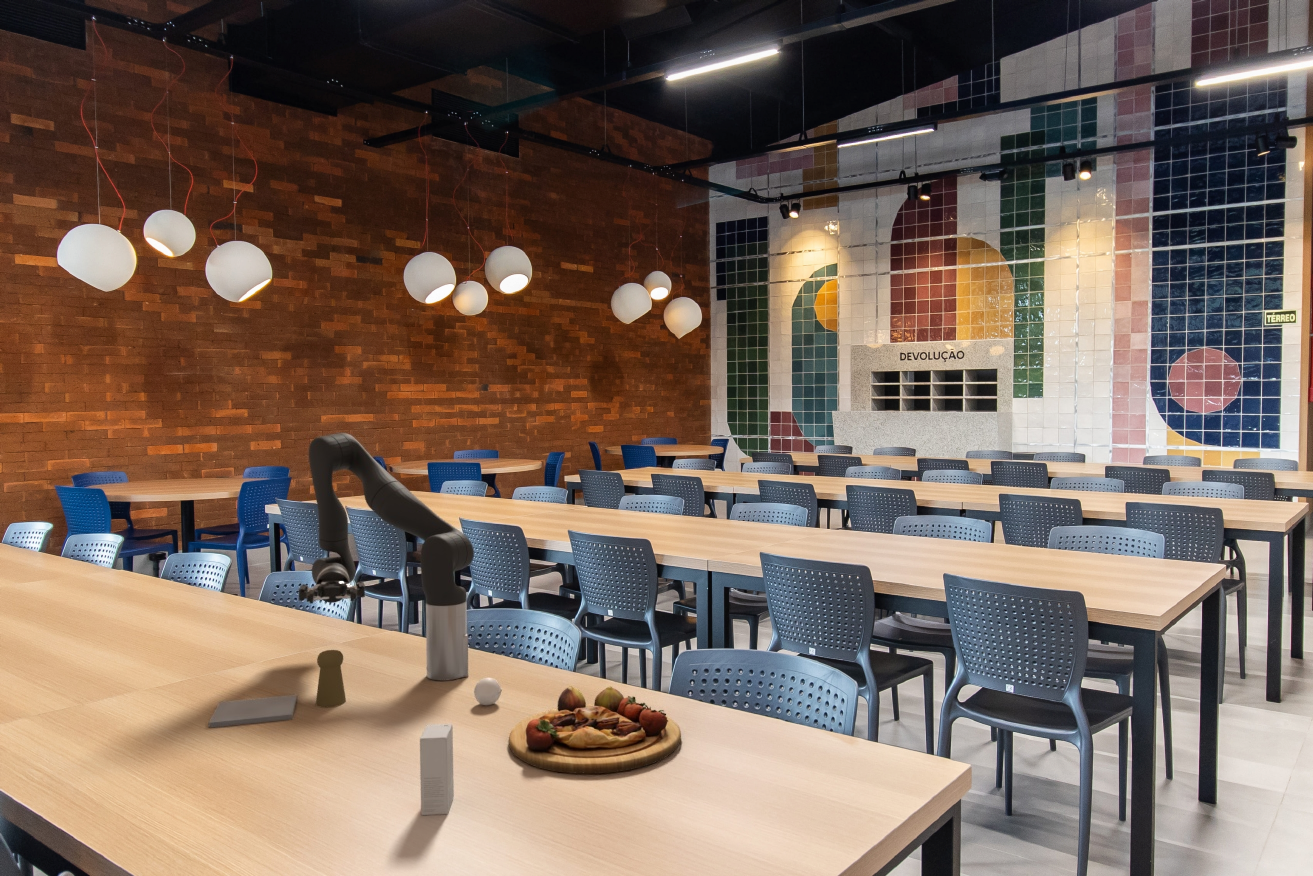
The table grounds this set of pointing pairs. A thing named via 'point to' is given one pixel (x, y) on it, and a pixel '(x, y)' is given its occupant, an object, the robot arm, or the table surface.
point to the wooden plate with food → (595, 735)
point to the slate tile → (253, 711)
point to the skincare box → (436, 769)
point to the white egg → (487, 691)
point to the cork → (330, 679)
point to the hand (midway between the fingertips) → (331, 597)
